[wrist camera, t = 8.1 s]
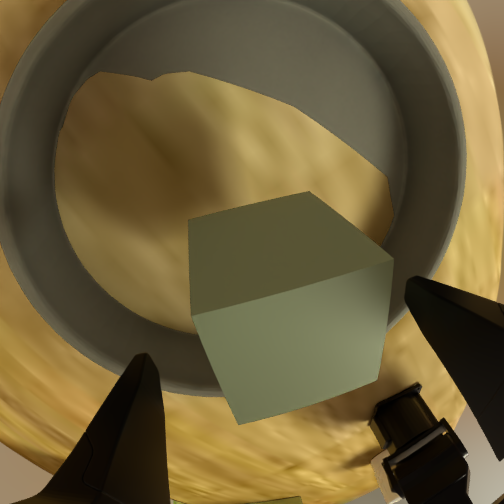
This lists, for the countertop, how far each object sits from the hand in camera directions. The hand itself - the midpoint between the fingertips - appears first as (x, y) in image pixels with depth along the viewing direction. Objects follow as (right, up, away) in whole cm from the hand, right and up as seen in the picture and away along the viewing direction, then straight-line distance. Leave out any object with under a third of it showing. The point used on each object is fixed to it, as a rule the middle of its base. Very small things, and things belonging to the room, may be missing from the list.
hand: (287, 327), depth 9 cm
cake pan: (-2, +6, +7) cm, 9 cm away
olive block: (-1, +2, +4) cm, 4 cm away
